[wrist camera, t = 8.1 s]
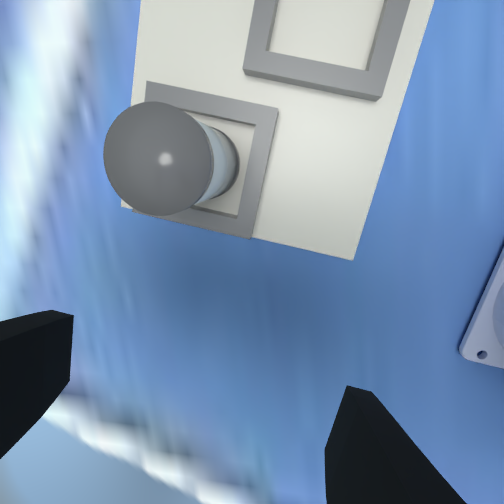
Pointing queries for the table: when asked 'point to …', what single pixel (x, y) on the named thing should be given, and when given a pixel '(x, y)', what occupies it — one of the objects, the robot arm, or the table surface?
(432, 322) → the table surface
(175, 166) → the grey fuse
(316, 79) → the fuse block
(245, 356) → the table surface
